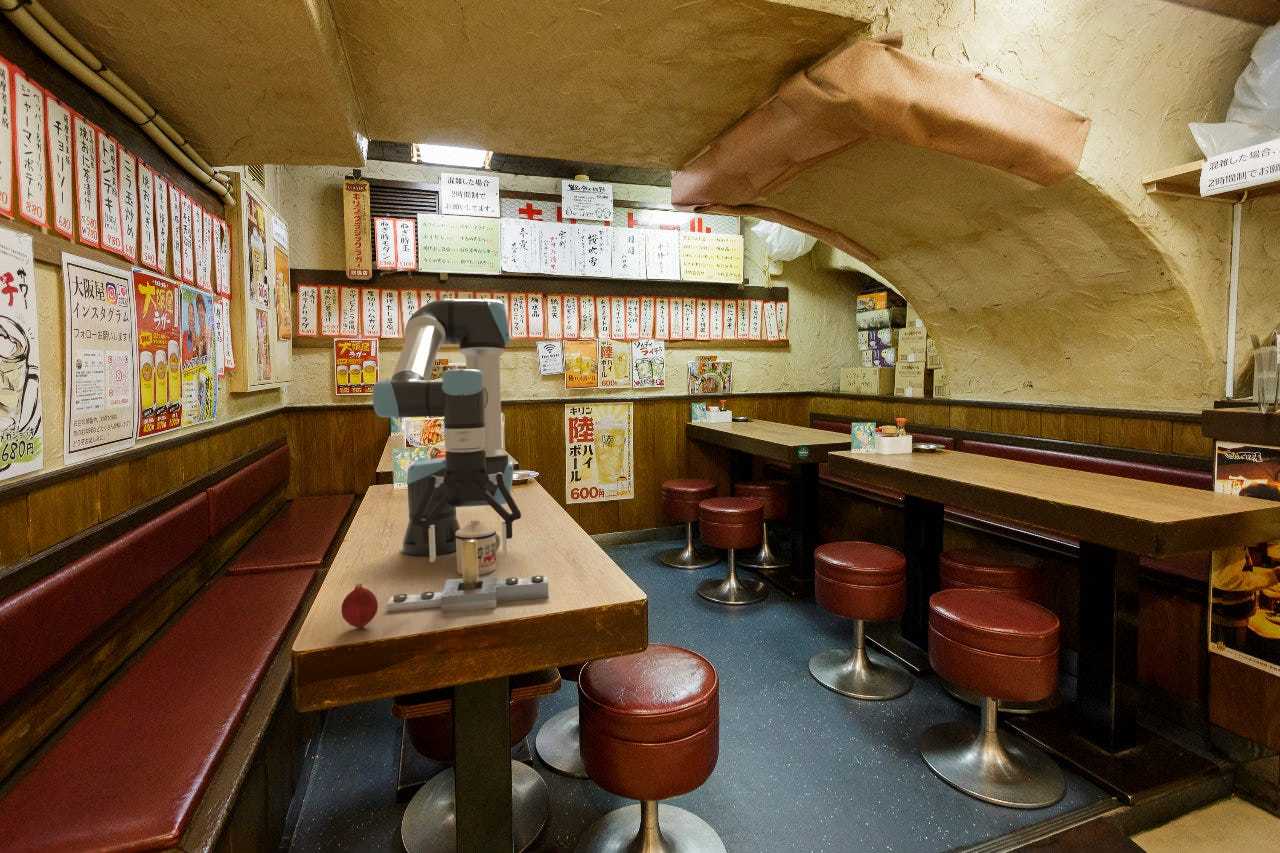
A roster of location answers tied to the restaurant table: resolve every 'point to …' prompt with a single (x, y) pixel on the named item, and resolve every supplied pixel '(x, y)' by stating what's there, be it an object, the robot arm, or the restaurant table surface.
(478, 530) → the teacup with lid
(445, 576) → the restaurant table surface
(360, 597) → the onion
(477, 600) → the studded slotted bracket
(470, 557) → the brass pin
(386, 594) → the restaurant table surface
